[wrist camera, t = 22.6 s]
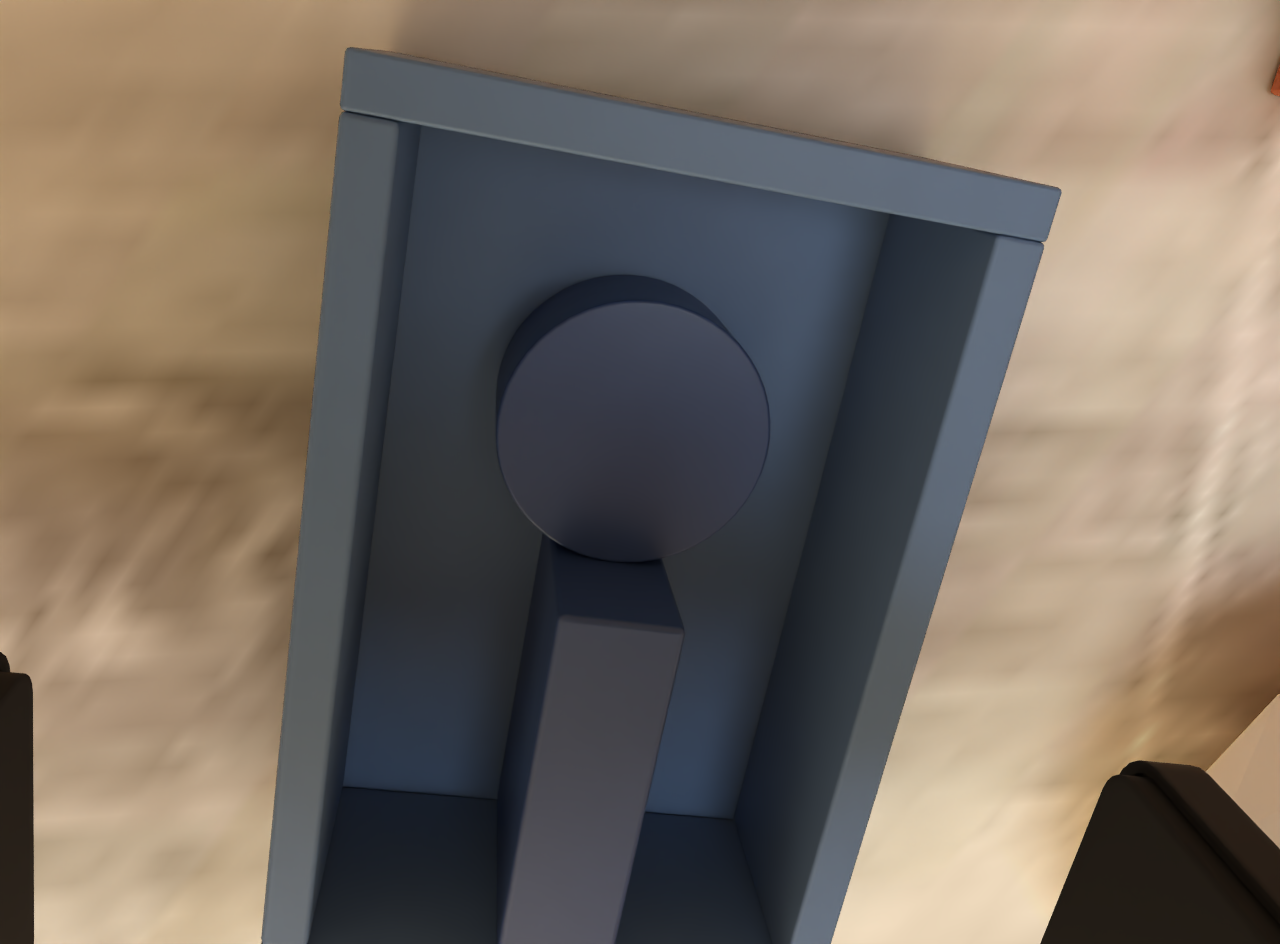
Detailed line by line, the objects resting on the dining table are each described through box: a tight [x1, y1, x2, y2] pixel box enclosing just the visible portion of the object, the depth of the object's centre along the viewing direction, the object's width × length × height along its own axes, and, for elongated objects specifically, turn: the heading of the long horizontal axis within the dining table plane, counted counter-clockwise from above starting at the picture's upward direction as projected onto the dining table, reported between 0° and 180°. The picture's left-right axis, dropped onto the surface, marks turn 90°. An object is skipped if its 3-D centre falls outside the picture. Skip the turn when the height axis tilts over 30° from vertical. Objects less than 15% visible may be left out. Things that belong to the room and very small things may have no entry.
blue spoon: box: [495, 275, 771, 944], centre depth 15 cm, size 9×4×4 cm, turn 169°
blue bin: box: [261, 47, 1061, 944], centre depth 15 cm, size 12×8×4 cm, turn 169°
